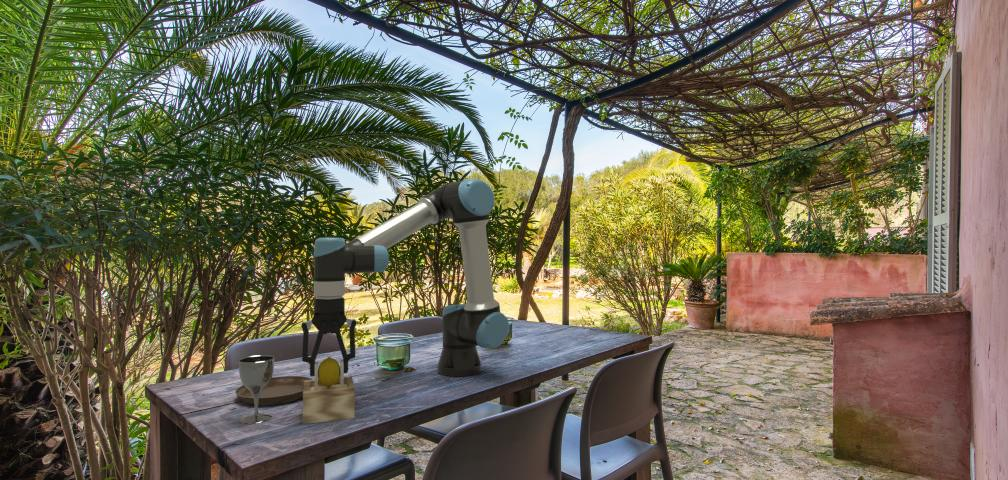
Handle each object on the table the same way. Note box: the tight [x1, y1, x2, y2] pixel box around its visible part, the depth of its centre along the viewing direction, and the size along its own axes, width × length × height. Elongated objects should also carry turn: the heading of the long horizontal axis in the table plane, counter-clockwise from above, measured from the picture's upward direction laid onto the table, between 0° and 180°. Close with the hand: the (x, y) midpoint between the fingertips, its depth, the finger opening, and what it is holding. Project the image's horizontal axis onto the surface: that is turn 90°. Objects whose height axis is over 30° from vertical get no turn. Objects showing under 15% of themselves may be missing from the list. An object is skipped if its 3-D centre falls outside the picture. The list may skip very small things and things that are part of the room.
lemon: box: [318, 356, 340, 388], centre depth 127 cm, size 6×6×8 cm
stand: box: [302, 375, 356, 425], centre depth 127 cm, size 12×12×8 cm
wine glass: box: [238, 354, 275, 425], centre depth 123 cm, size 8×8×15 cm
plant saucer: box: [235, 375, 314, 406], centre depth 142 cm, size 21×21×3 cm
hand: (329, 387), depth 127 cm, fingers closed on lemon, 5 cm apart
